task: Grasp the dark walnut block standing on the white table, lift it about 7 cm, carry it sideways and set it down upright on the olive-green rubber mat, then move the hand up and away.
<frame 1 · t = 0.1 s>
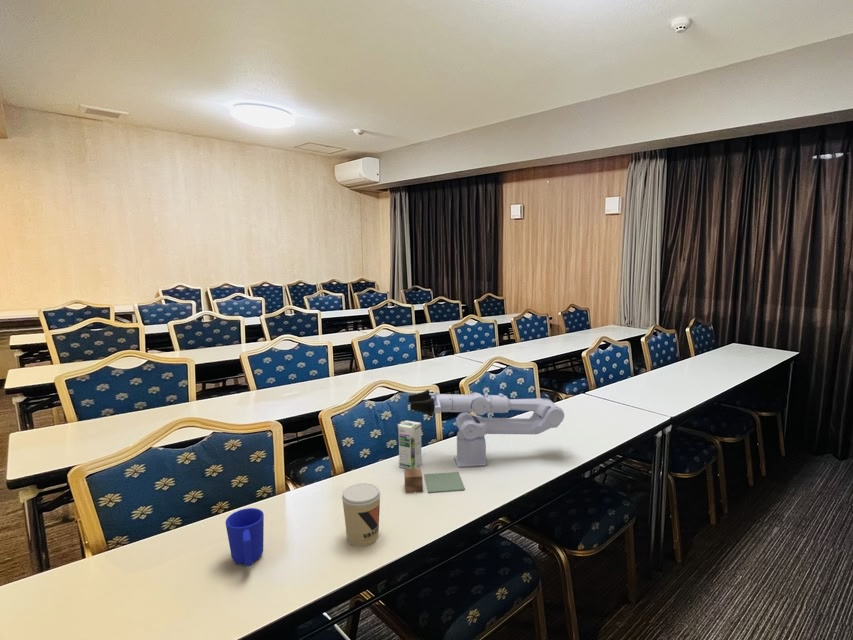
hand: (409, 402, 150), 22 cm above the table, tool horizontal, fingers open, 7 cm apart
beige lidded canister: (362, 537, 116), on the table
syrup box: (410, 466, 153), on the table
mug: (248, 562, 107), on the table
green mat: (444, 482, 142), on the table
walnut block: (413, 488, 139), on the table
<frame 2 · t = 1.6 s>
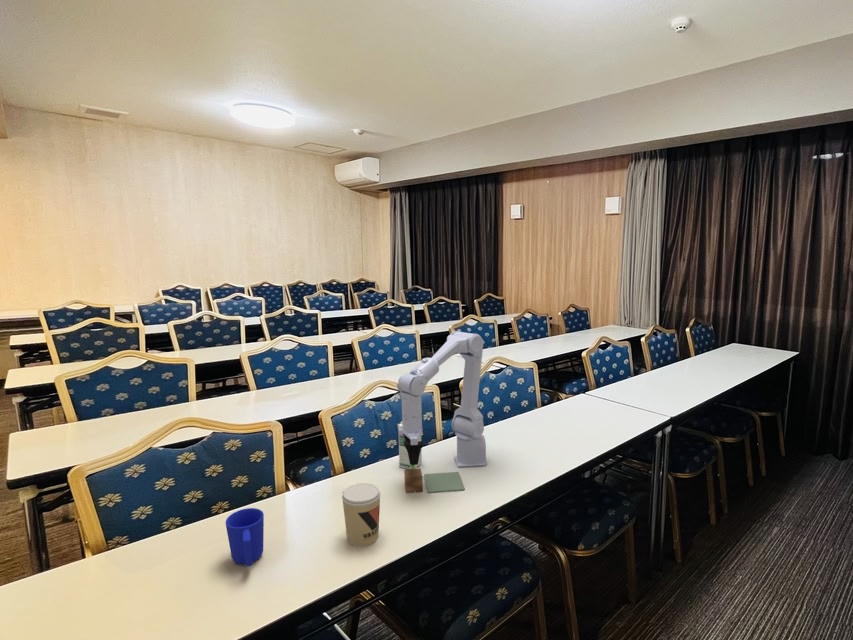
hand: (412, 458, 137), 9 cm above the table, tool pointing down, fingers open, 7 cm apart
nothing on the table moved.
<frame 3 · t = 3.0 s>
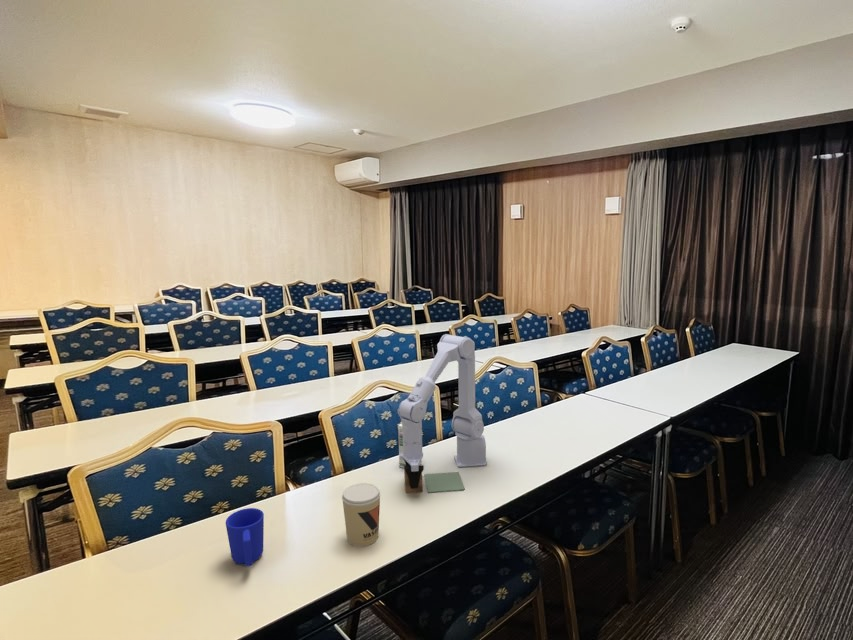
hand: (413, 483, 138), 2 cm above the table, tool pointing down, fingers closed on walnut block, 5 cm apart
walnut block: (413, 488, 139), on the table, touching gripper
everything else where it was.
when the fingers open (3 cm above the table, at t = 6.8 s): walnut block stays where it is, resting on green mat.
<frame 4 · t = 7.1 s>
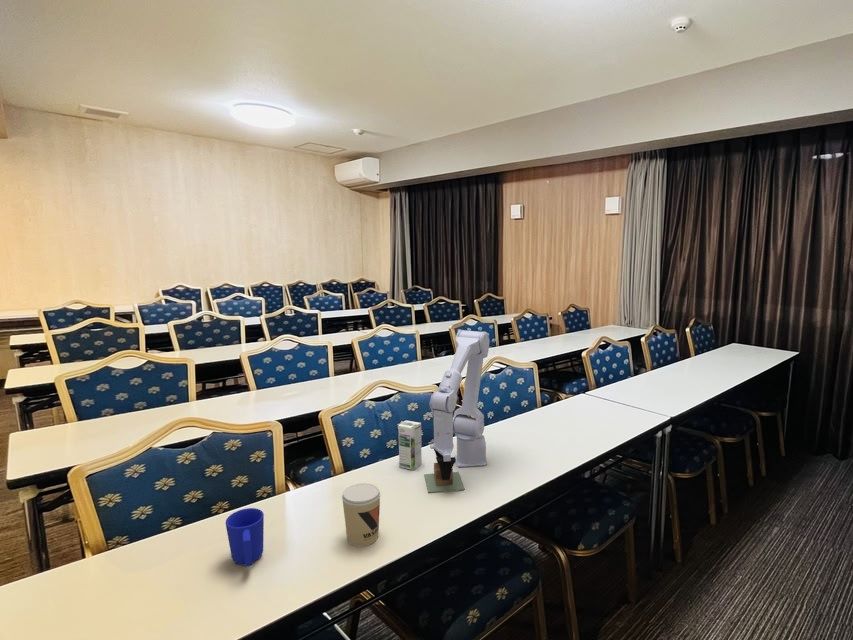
hand: (443, 473, 141), 3 cm above the table, tool pointing down, fingers open, 7 cm apart
walnut block: (443, 481, 142), resting on green mat
everything else where it was.
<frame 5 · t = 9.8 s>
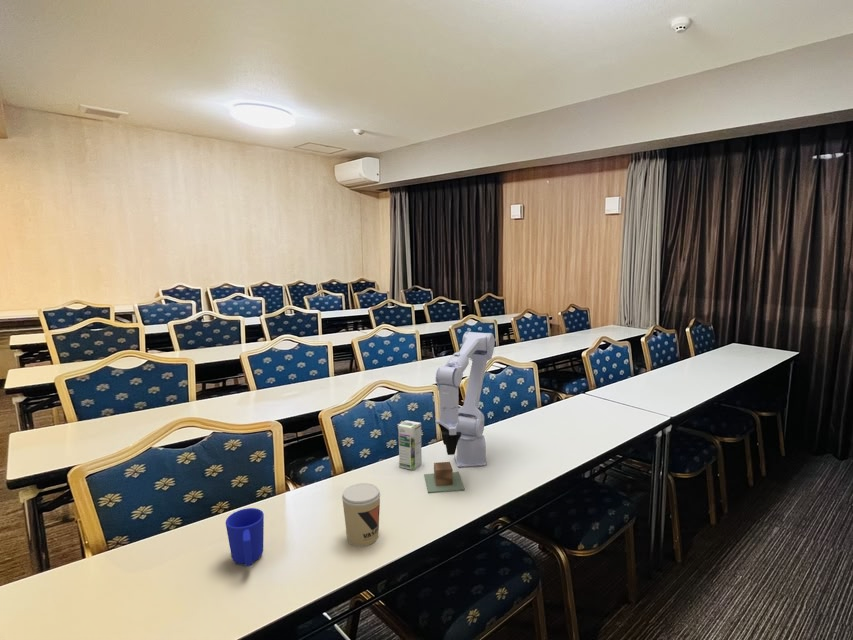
hand: (449, 449, 141), 10 cm above the table, tool pointing down, fingers open, 7 cm apart
nothing on the table moved.
at the end: walnut block inside the target area on the green mat (0.2 cm from its centre), point 0.4 cm above the green mat's base; walnut block tilted 0°; the gripper is holding nothing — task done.
